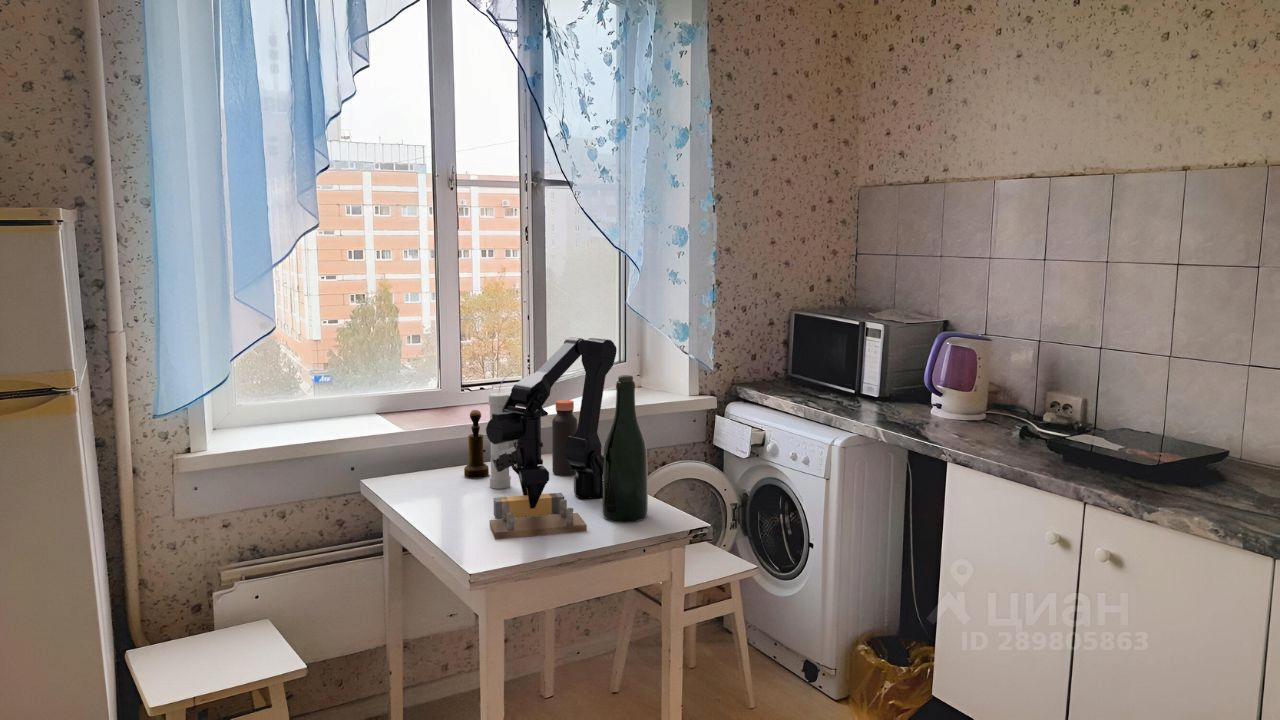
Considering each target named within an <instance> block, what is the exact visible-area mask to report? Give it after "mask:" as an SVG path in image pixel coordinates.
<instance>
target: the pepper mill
mask: <svg viewBox="0 0 1280 720" xmlns="http://www.w3.org/2000/svg"><path fill="white" fill-rule="evenodd" d="M469 418H470V420H471V422H472V426H470V427H471V432H472V433H471V434H469V435H468V437H467V438H468V464H466V465H465V467H464V470H463V471H464V478H467V477H468V478H467V479H481V477H482V478H485V477H487V476H489V473H490V471H489V465H488V464H486V463H485V461H484V460H485V459H484V434H482V433H480V428H481V426H480V425H479V422H480V420H481V418H482V413H481V411H480V410H478V409H473V410H471V411H470V413H469Z"/></svg>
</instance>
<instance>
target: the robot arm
mask: <svg viewBox="0 0 1280 720" xmlns="http://www.w3.org/2000/svg"><path fill="white" fill-rule="evenodd" d="M617 352H618V351H617V346H616V345H615V342H613V340H611V339H606V338H596V337H595V338H594V337H590V338H587V339H584V338H581V337H572V336H571V337H568V338H566V339H565V340H564V342H563V344H562V345H561V346H560V347H559V348H558V349H557V350H556V351H555V352H554V353H553V354H552V355H551V356H550V357H549V358H548V359H547V361H545V362H544V364H543V365H542V366H540V368H539V369H537V371H535V372H534V373H532V374H530V375H527V376H525V377H523V378H522V379H520V380H519V381H517V382H515V384H514V385H513V386H512V388H511V390H510V391H511V392H510V394H509V398H508V400H507V402H506V404H505V405H504V407H503V409H502V412H503V413H493V414H492V419H491V420H490V419H489V420H488V422H487V425H486V427H485V433H486V437H487V439H488V441H489V442H492V443H493V444H500V443H504V442H509V443H510V442H513V446H511V447H509V448H508V449H505V450H503V451H500V452H498V453H495V454H493V455H492V456H491V455H490V459H491V458H492V461H493V463H494V466H495V468H496V470H497V472H500V471H503V470H504V469H506V468H508V467H509V468H510V467H511V469H512V470H513V471H514V472H515V474H517V475H518V479H519V482H520V487H521V492H522V496H524V495H528V500H529V505H530V508H531V509H532V508H535V507H536V505H537V502H538V500H539V498H540V496H541V494H543V491H544V489H545V487H546V485H547V484H548V482H549V481H550V472H549V470H548V469H547V468H546V467H545V466H544V465H543V464H544V460H543V458H542V448H543V447H544V446H543V445H544V443H543V442H542V417H547V416H548V415H549V412H547V411H546V410H545V409H544V408H543V406H544V404H545V403H546V401H547V400H548V398H549V397H550V395H551V390H552V387H553V386H554V385H555V383H556V382H557V381H559V379H560V378H561V377H562V376H563V375H564V374H565V373H566V372H567V371H568V370H569V368H571V366H573V364H574V363H576V361H577V360H578V359H579V358H580V357H581V363H582V364H581V365H582V367H583V369H584V372H585V375H584V381H583V382H584V383H583V389H582V390H583V391H582V397H581V401H580V409H579V416H578V421H577V431H576V432H575V434H574V435H573V436H572V437H571V436H568V438H567V447H566V450H565V452H566V459H567V460H568V462H569V465H570V468H571V470H575V471H576V474H575V476H574V477H573V493H574V494H575V496H576V497H577V498H578V499H579V500H586V499H601V498H602V499H603V459H604V455H602V443H601V440H600V437H599V433H598V429H599V423H600V415H601V411H602V410H601V409H602V403H603V402H602V401H603V396H604V389H605V381H606V376H607V375H608V373H609V372H610V370H611V369H612V368H613V366H614V363H615V359H616V357H617Z"/></svg>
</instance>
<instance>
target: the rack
mask: <svg viewBox="0 0 1280 720" xmlns="http://www.w3.org/2000/svg"><path fill="white" fill-rule="evenodd" d="M502 508H503V518H502V519H495V518H494V519H489V528H490V531H491V533H492V535H493V539H494V540H503V539H513V538H524V537H525V538H527V537H536V536H537V535H539V536H547V535H548V534H550V535H560V533H562V534H569V533H570V534H572V533H583V532H587V526H588V525H587V523H586V521H584V519H582V516H580V514H579V513H578V512H574V508H573V507H568V500H567V499H564V500H560V514H551V515H539V516H527V517H514V513H509V504H503V505H502ZM548 536H549V535H548Z"/></svg>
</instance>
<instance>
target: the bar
mask: <svg viewBox="0 0 1280 720" xmlns="http://www.w3.org/2000/svg"><path fill="white" fill-rule="evenodd" d="M560 500H565V496H564V494H563V493H562V492H554V493H541V496H540V498H539V500H538V502H537V505H536V507H535V508H532V509H531V508H530V505H529V500H528V495H524V496H523V495H512V496H501V497H500V496H499V497H493V501H492V502H493V516H494V520H495V519H503V508H502V505H503V504H509V513H514V518H520V517H525V516H527V517H532V516H538V515H539V516H544V515H549V514H551V515H556V514H560Z"/></svg>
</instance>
